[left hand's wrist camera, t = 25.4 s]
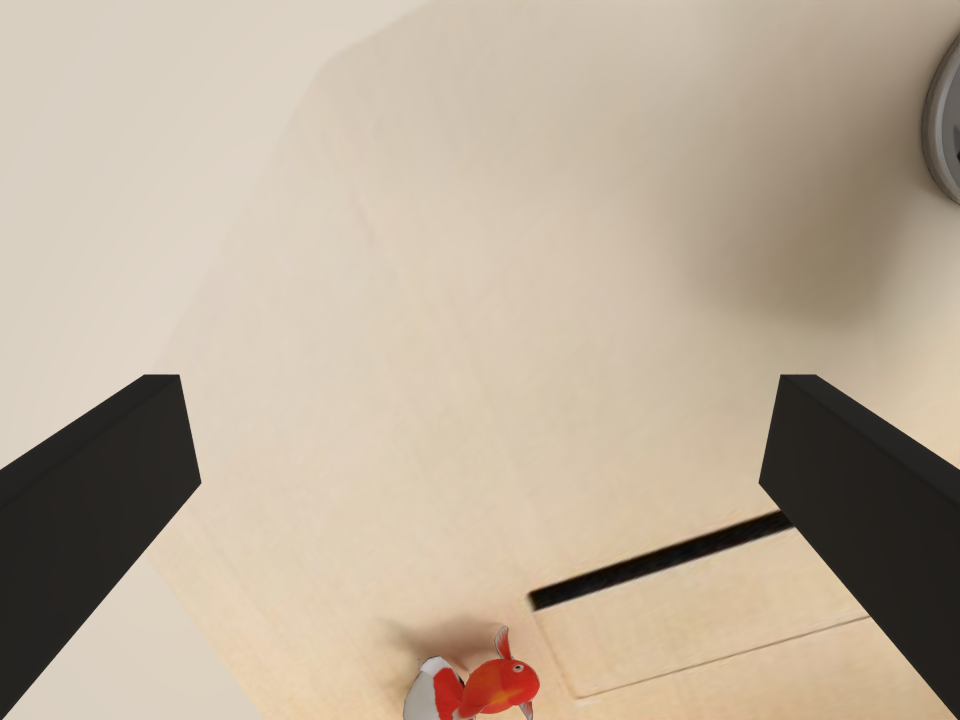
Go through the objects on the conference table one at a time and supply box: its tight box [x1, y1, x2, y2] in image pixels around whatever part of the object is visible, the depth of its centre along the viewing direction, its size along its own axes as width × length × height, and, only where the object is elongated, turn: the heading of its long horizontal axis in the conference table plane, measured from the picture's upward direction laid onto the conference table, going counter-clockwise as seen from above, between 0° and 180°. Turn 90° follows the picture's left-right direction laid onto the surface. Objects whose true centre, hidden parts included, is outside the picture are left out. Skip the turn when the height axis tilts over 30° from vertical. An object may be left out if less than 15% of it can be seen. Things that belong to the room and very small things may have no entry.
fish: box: [403, 626, 540, 720], centre depth 53 cm, size 11×16×10 cm
